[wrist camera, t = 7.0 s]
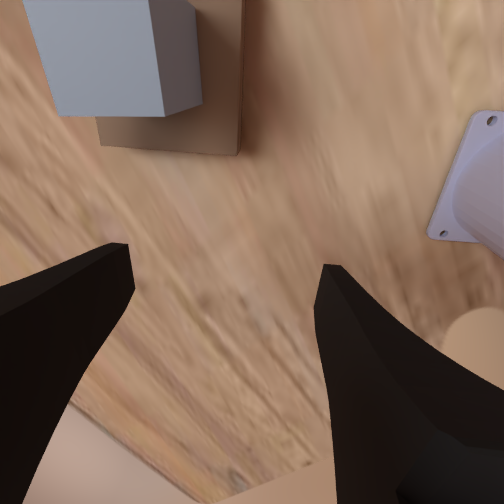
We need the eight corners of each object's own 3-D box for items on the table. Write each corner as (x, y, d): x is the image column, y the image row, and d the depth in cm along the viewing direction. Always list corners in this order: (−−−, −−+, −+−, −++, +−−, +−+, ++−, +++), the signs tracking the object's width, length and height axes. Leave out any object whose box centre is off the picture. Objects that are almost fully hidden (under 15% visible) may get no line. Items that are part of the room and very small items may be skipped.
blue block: (195, 7, 14) (143, -36, 8) (202, 103, 16) (164, 116, 10) (112, 9, 14) (12, -32, 9) (130, 103, 16) (58, 116, 11)
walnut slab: (247, -15, 15) (242, -32, 13) (241, 147, 19) (236, 155, 17) (95, -24, 15) (65, -42, 13) (120, 138, 19) (100, 145, 17)
